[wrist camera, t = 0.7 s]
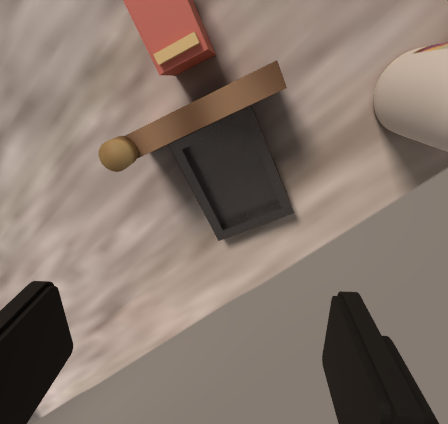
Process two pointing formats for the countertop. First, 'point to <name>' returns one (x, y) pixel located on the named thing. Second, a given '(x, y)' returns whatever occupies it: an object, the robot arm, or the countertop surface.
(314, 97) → the countertop surface
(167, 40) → the red block
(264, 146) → the tray
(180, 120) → the door board
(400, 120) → the milk bottle
